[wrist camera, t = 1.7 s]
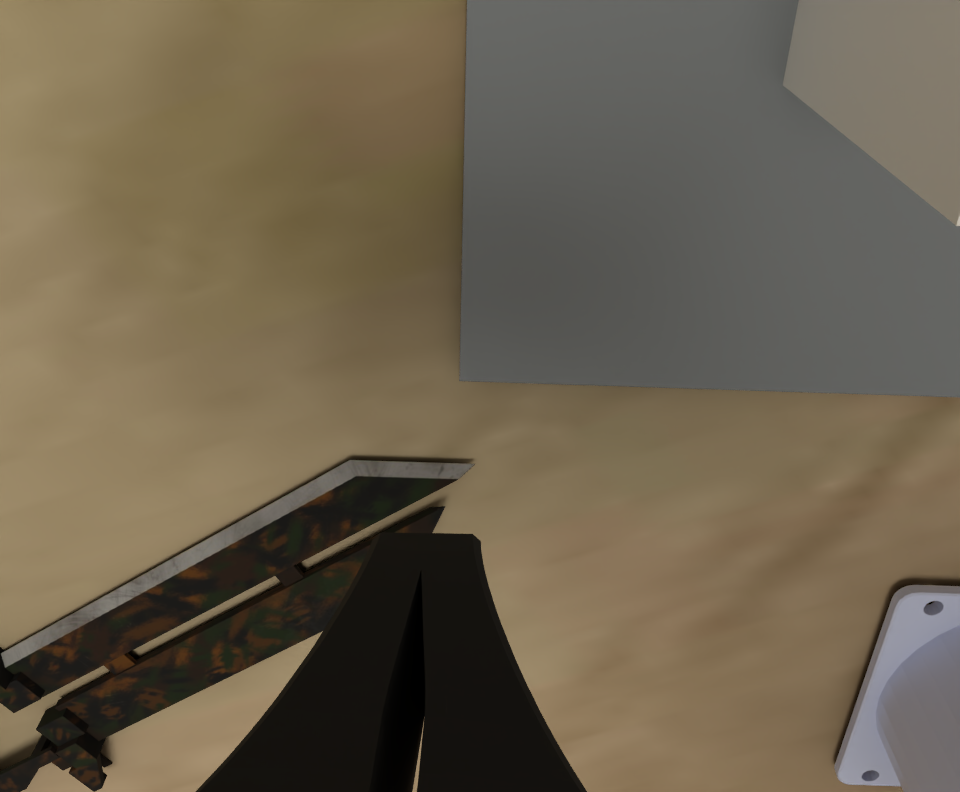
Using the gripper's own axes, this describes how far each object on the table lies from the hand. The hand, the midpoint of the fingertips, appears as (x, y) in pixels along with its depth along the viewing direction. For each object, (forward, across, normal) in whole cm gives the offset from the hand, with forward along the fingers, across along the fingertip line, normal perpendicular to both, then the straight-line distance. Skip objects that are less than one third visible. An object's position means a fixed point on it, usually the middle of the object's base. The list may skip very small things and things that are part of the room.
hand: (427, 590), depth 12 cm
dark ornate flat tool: (+11, +10, +12) cm, 19 cm away
